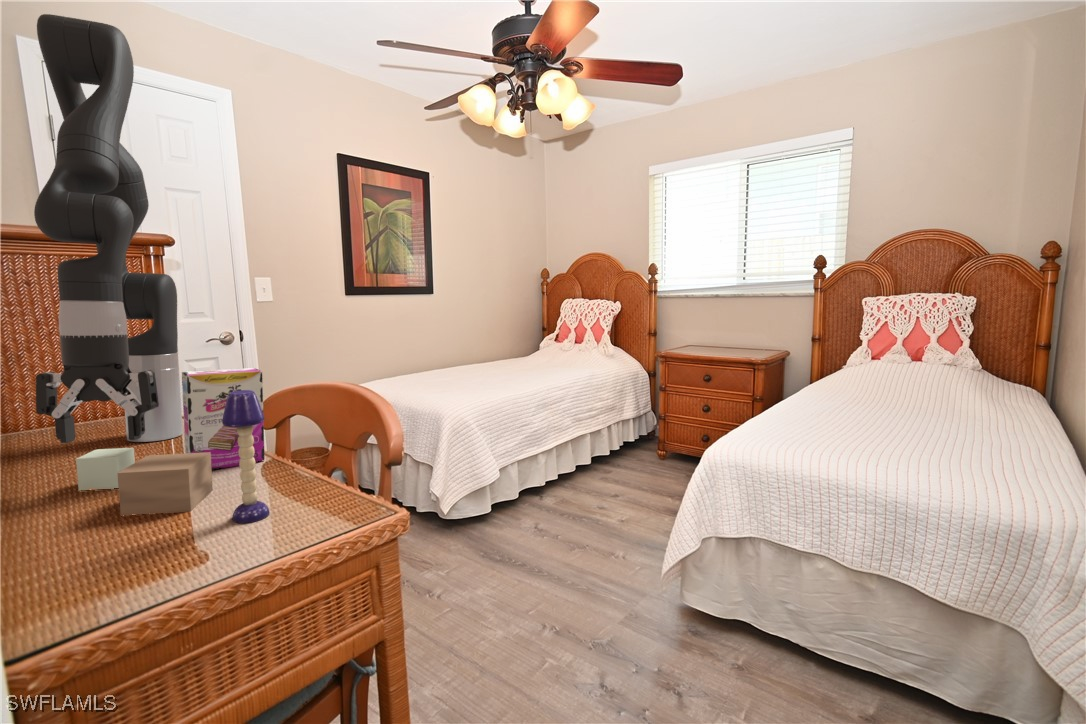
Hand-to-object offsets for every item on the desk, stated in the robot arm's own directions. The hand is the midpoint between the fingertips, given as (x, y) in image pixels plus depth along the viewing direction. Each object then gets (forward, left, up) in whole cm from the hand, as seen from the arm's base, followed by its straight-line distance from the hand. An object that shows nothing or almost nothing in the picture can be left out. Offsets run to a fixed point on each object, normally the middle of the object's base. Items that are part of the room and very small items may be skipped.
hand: (102, 440), depth 77 cm
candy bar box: (-7, +14, -7) cm, 18 cm away
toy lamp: (+18, +24, -7) cm, 31 cm away
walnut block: (+10, +12, -7) cm, 17 cm away
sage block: (0, 0, -7) cm, 7 cm away
